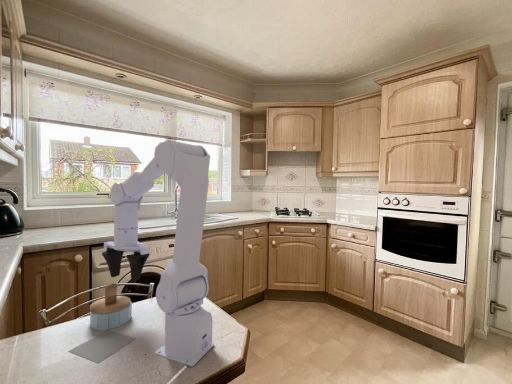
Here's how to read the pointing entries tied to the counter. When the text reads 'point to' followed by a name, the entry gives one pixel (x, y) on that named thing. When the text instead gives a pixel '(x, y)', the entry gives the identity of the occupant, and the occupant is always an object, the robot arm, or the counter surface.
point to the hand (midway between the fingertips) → (125, 278)
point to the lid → (110, 302)
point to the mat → (102, 346)
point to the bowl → (110, 319)
